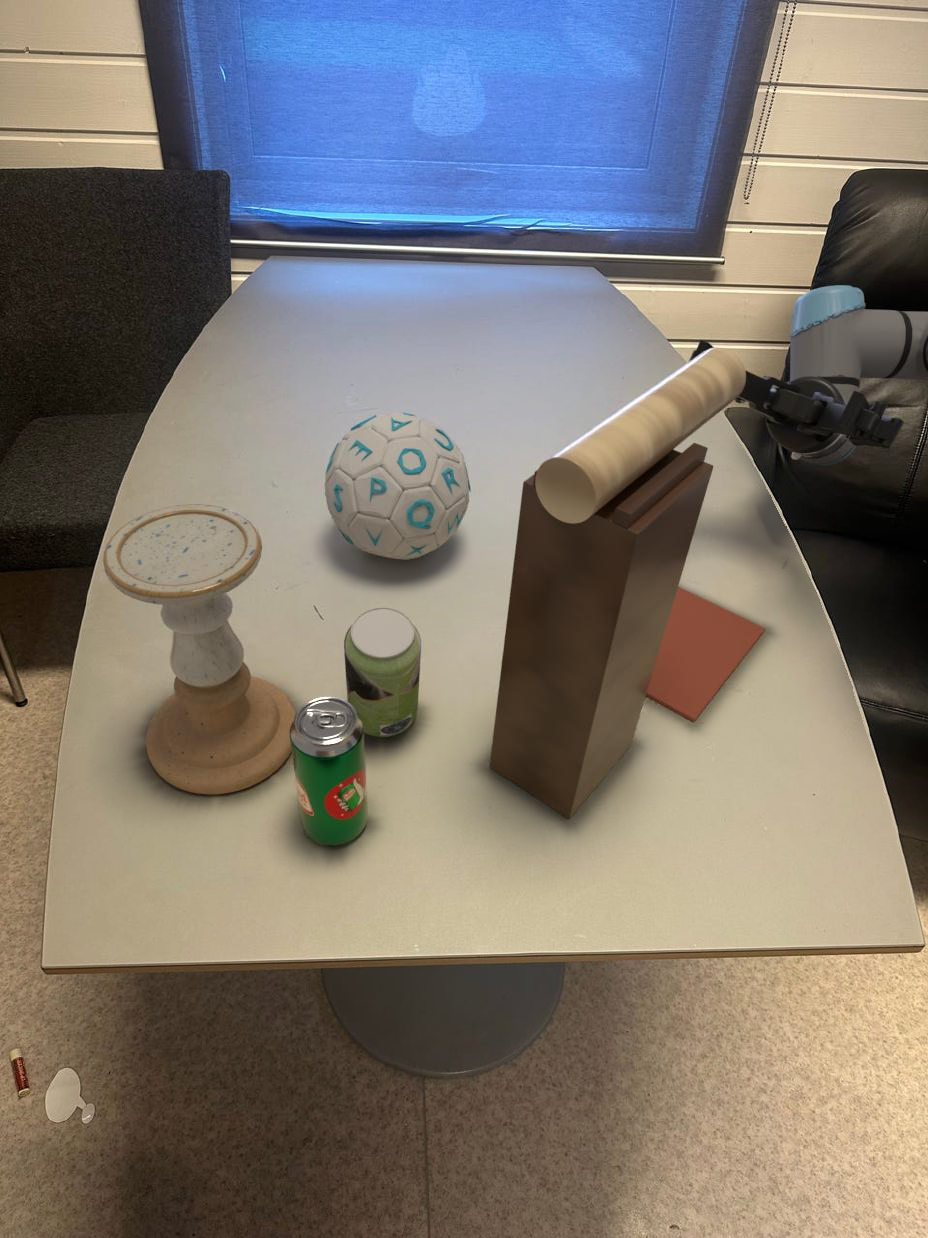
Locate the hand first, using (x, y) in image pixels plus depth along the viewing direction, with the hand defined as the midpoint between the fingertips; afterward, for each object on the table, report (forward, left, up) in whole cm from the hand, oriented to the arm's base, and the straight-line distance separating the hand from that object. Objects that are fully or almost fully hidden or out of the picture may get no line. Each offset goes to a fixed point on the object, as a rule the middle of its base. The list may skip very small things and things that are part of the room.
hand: (770, 380), depth 69 cm
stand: (0, +26, -25) cm, 36 cm away
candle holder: (+23, +43, -25) cm, 55 cm away
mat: (-1, +7, -25) cm, 26 cm away
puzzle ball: (+30, +13, -25) cm, 41 cm away
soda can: (+10, +43, -25) cm, 51 cm away
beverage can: (+14, +33, -25) cm, 44 cm away
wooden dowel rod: (0, +23, +3) cm, 23 cm away
